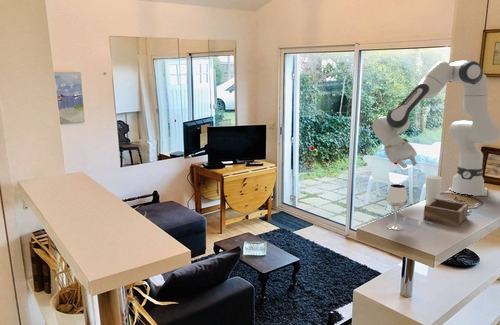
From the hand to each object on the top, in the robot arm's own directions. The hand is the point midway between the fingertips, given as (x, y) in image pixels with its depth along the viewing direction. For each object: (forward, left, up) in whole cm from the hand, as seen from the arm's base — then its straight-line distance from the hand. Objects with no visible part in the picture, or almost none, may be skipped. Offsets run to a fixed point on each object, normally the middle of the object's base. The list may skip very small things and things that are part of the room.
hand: (410, 166), depth 196 cm
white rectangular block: (+2, +12, -19) cm, 22 cm away
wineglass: (+40, +9, -19) cm, 45 cm away
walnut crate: (+16, +22, -18) cm, 33 cm away
